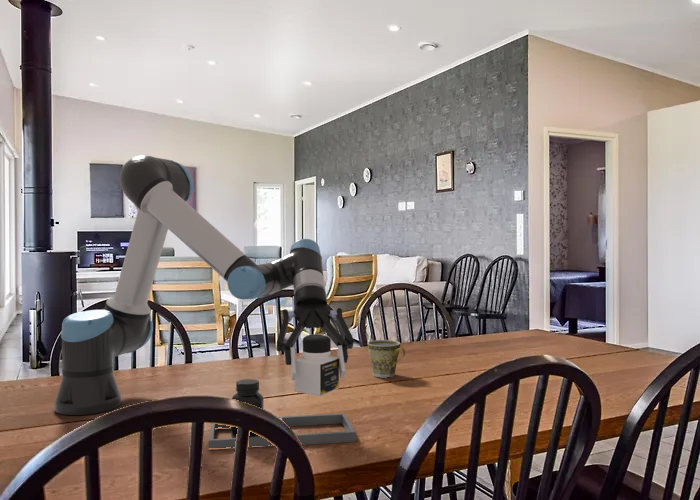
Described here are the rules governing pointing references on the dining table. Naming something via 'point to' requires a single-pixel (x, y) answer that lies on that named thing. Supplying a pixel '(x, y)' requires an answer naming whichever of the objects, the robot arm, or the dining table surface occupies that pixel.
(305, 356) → the medicine bottle
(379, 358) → the ceramic cup
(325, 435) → the tray
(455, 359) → the dining table surface
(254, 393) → the supplement bottle
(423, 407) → the dining table surface
